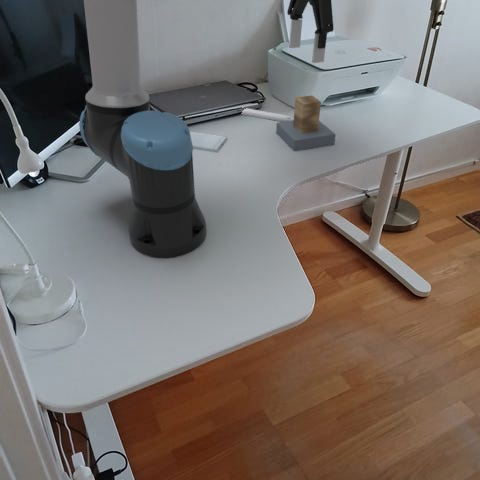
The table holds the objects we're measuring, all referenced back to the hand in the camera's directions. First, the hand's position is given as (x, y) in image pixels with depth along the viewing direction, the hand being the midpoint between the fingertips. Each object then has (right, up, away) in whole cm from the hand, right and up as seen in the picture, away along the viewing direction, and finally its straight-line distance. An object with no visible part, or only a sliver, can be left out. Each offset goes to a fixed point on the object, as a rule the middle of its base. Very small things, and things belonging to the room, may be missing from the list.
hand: (305, 54), depth 112 cm
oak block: (+2, -16, +11) cm, 19 cm away
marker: (-9, -9, +25) cm, 28 cm away
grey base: (+2, -18, +13) cm, 22 cm away
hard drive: (-27, -20, +11) cm, 36 cm away
